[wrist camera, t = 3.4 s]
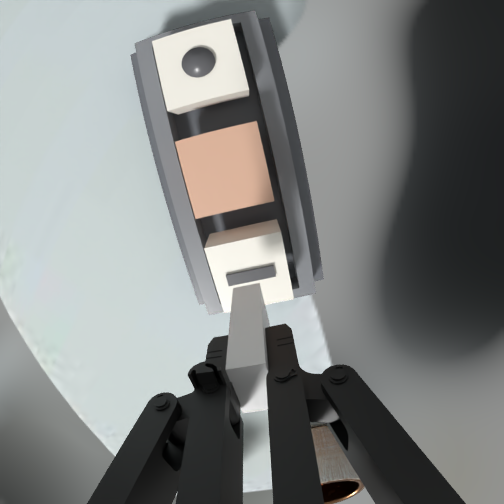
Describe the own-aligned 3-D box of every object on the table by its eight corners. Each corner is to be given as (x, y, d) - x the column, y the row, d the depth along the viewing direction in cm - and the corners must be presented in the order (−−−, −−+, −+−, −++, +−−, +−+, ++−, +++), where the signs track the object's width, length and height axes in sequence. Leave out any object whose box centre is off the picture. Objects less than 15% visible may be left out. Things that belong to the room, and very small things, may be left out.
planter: (351, 414, 36) (368, 470, 27) (353, 448, 40) (366, 495, 31) (274, 433, 37) (279, 490, 28) (289, 464, 40) (294, 511, 32)
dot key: (164, 52, 17) (150, 40, 14) (233, 33, 17) (230, 17, 14) (178, 114, 19) (166, 110, 16) (249, 96, 19) (249, 89, 16)
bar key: (209, 233, 22) (203, 249, 19) (276, 219, 22) (281, 232, 19) (226, 292, 24) (224, 314, 21) (288, 279, 24) (294, 300, 21)
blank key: (184, 140, 20) (174, 141, 17) (255, 123, 19) (256, 121, 17) (202, 208, 22) (195, 219, 19) (271, 192, 21) (274, 201, 18)
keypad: (138, 60, 20) (120, 48, 16) (267, 26, 19) (270, 8, 16) (202, 293, 28) (195, 317, 24) (318, 269, 27) (329, 290, 24)
